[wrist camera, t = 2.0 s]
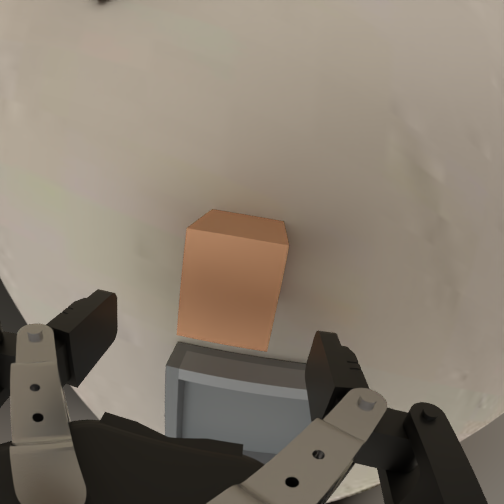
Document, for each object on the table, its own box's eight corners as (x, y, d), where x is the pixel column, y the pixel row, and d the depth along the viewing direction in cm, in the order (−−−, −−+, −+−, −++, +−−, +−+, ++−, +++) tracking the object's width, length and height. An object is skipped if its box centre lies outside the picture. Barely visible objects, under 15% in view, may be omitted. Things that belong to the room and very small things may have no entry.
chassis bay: (345, 367, 25) (353, 393, 21) (308, 455, 28) (310, 480, 25) (177, 341, 25) (165, 365, 22) (173, 435, 28) (165, 459, 25)
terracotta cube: (283, 221, 22) (289, 245, 15) (268, 300, 24) (266, 351, 17) (212, 209, 22) (186, 228, 15) (201, 289, 24) (176, 335, 17)
